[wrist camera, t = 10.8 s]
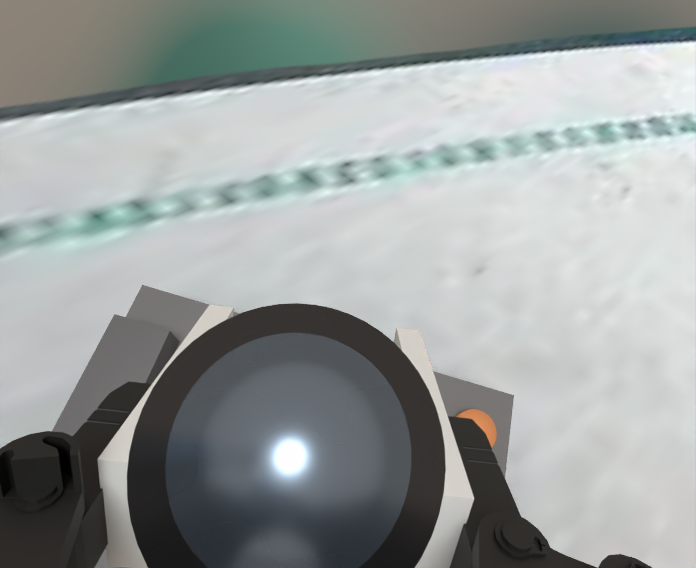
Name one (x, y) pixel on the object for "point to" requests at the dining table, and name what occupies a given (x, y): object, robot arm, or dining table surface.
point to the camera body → (173, 327)
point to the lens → (287, 448)
